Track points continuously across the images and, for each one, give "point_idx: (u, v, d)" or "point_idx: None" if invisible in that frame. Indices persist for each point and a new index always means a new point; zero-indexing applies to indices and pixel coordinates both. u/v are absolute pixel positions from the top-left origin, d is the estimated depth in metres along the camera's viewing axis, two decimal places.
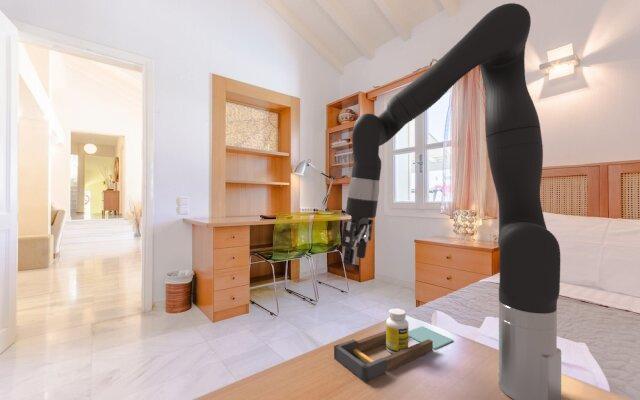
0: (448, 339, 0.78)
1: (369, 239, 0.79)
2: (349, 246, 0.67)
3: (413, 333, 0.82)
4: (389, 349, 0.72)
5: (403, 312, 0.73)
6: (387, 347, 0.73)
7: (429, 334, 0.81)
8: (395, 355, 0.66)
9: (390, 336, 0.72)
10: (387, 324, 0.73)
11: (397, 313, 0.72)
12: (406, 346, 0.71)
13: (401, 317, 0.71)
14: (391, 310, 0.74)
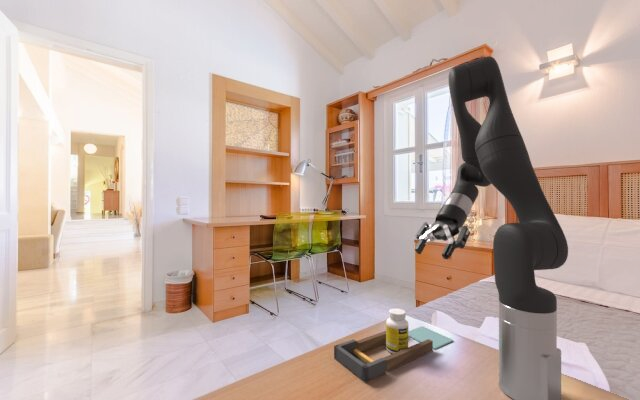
0: (448, 339, 0.78)
1: (456, 241, 0.77)
2: None
3: (413, 333, 0.82)
4: (389, 349, 0.72)
5: (403, 312, 0.73)
6: (387, 347, 0.73)
7: (429, 334, 0.81)
8: (395, 355, 0.66)
9: (390, 336, 0.72)
10: (387, 324, 0.73)
11: (397, 313, 0.72)
12: (406, 346, 0.71)
13: (401, 317, 0.71)
14: (391, 310, 0.74)
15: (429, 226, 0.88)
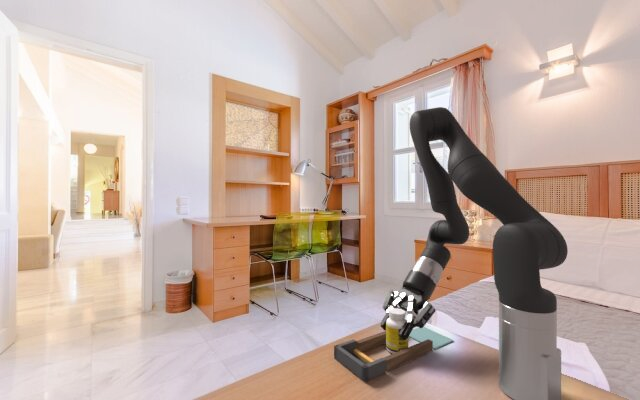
0: (448, 339, 0.78)
1: (414, 319, 0.70)
2: None
3: (413, 333, 0.82)
4: (389, 349, 0.72)
5: (403, 312, 0.73)
6: (387, 347, 0.73)
7: (429, 334, 0.81)
8: (395, 355, 0.66)
9: (390, 336, 0.72)
10: (387, 324, 0.73)
11: (397, 313, 0.72)
12: (406, 346, 0.71)
13: (400, 316, 0.71)
14: (391, 310, 0.74)
15: (395, 294, 0.80)
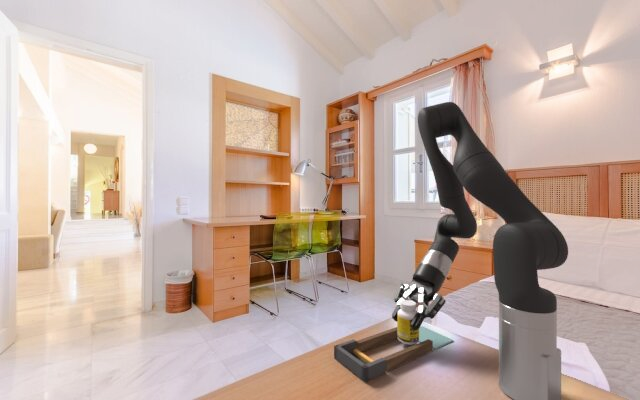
0: (448, 339, 0.78)
1: (425, 310, 0.72)
2: None
3: None
4: (401, 339, 0.74)
5: (414, 303, 0.75)
6: (399, 337, 0.75)
7: (429, 334, 0.81)
8: (395, 355, 0.66)
9: (401, 327, 0.74)
10: (398, 315, 0.75)
11: (408, 305, 0.74)
12: (417, 336, 0.74)
13: (412, 308, 0.74)
14: (402, 302, 0.76)
15: (405, 286, 0.82)
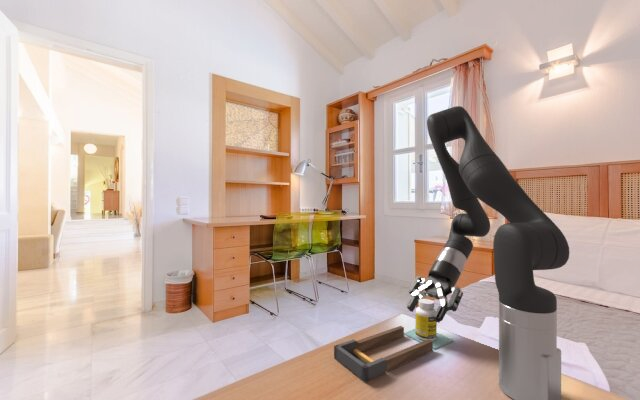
0: (448, 339, 0.78)
1: (448, 303, 0.75)
2: None
3: (413, 333, 0.82)
4: (419, 336, 0.78)
5: (432, 302, 0.79)
6: (417, 334, 0.79)
7: None
8: (395, 355, 0.66)
9: (420, 324, 0.78)
10: (417, 313, 0.79)
11: (426, 303, 0.78)
12: (435, 333, 0.78)
13: (430, 306, 0.78)
14: (420, 300, 0.80)
15: (422, 281, 0.86)
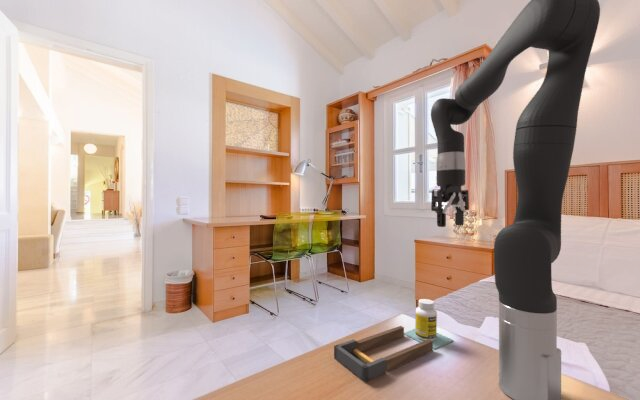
0: (448, 339, 0.78)
1: (466, 208, 0.86)
2: (438, 209, 0.79)
3: (413, 333, 0.82)
4: (419, 336, 0.78)
5: (432, 302, 0.79)
6: (417, 334, 0.79)
7: None
8: (395, 355, 0.66)
9: (420, 324, 0.78)
10: (417, 313, 0.79)
11: (426, 303, 0.78)
12: (435, 333, 0.78)
13: (430, 306, 0.77)
14: (420, 300, 0.80)
15: (441, 192, 0.81)
